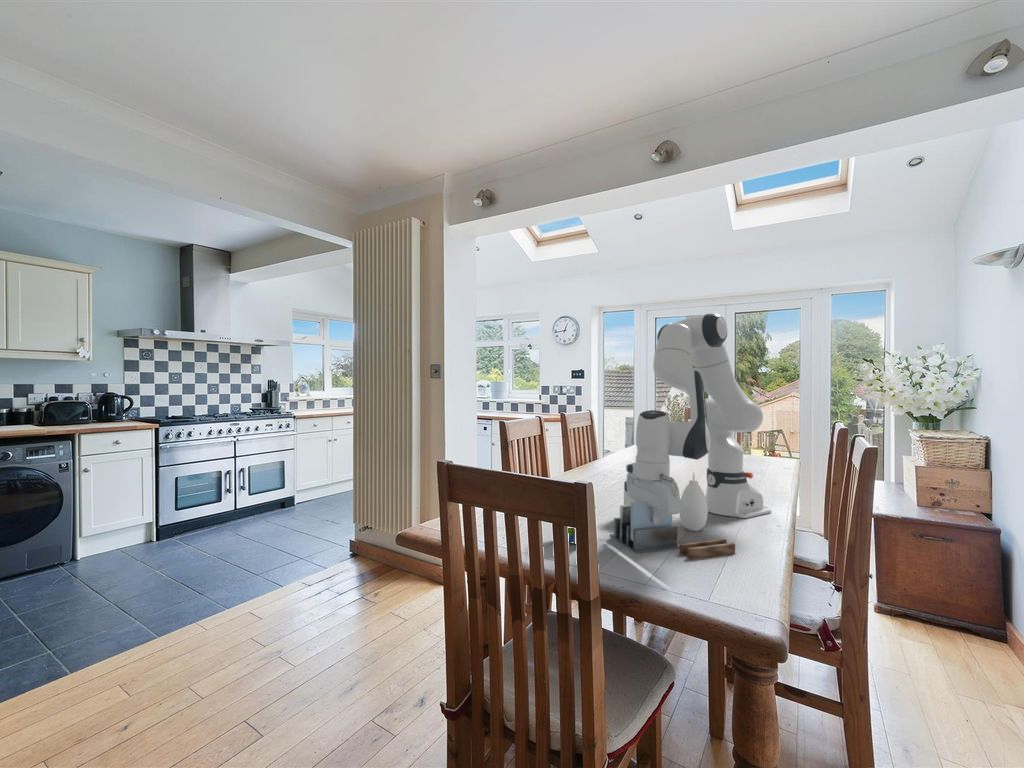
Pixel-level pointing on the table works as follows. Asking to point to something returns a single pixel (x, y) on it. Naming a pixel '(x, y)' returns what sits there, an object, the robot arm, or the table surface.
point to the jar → (627, 498)
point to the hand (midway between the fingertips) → (651, 521)
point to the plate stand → (707, 549)
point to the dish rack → (643, 534)
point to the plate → (646, 517)
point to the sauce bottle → (693, 507)
